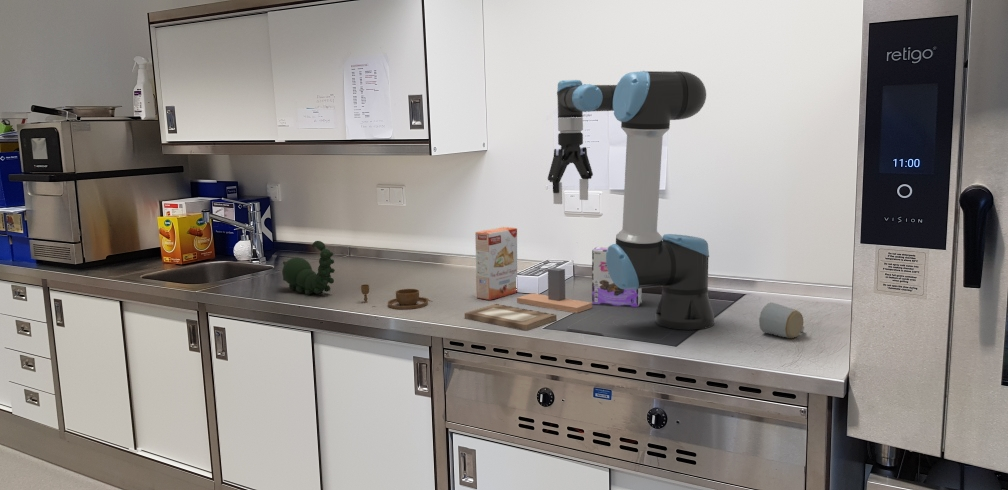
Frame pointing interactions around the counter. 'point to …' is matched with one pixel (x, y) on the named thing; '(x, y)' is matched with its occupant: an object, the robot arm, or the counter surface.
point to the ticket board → (510, 316)
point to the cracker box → (496, 262)
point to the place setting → (401, 298)
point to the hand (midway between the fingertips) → (571, 201)
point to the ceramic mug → (781, 320)
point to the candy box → (609, 284)
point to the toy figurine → (309, 272)
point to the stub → (555, 295)
